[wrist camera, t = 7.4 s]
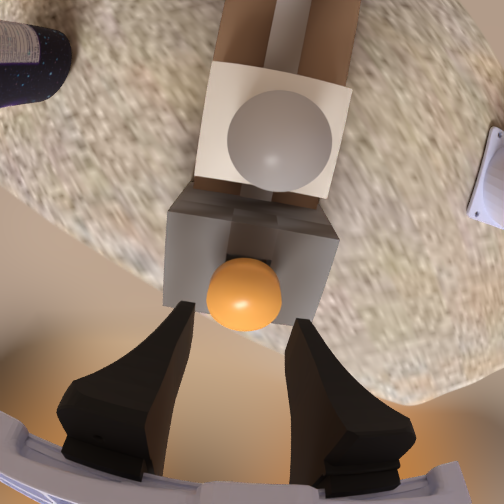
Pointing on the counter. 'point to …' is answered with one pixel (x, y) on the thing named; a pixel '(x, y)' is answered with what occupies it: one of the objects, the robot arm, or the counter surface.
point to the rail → (249, 196)
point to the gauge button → (244, 294)
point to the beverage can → (31, 63)
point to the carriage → (271, 129)
